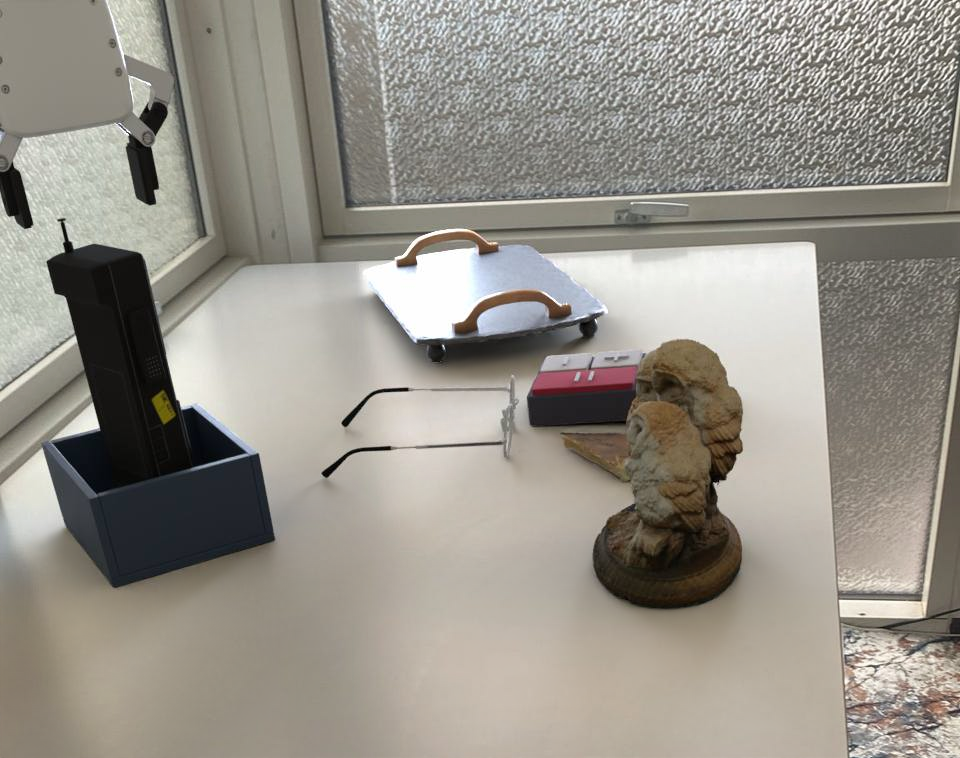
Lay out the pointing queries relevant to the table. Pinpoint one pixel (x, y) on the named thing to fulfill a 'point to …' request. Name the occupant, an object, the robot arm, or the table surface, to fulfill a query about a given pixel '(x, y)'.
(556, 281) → the serving tray
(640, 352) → the red gray box
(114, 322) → the portable radio
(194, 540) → the bin
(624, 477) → the shard
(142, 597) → the table surface
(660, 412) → the owl figurine
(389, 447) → the eyeglasses
